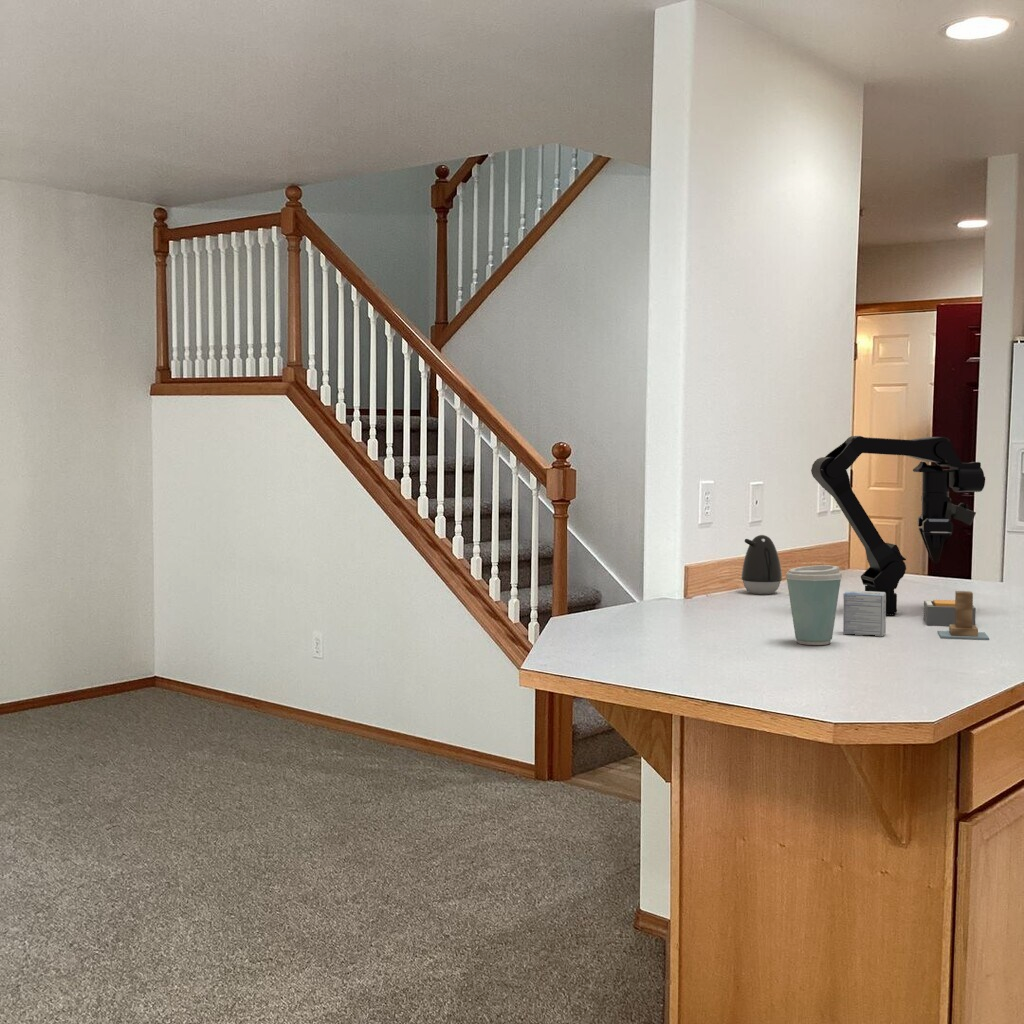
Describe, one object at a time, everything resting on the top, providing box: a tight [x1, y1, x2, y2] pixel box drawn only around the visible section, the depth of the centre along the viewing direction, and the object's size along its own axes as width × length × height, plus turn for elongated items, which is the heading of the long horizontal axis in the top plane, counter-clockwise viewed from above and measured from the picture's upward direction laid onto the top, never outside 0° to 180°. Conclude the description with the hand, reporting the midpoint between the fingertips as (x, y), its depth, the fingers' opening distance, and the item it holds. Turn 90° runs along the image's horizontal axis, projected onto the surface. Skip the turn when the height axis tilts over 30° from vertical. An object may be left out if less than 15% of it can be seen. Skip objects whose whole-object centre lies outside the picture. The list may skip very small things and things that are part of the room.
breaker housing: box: [923, 600, 977, 627], centre depth 252 cm, size 10×10×4 cm
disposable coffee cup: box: [785, 564, 843, 646], centre depth 228 cm, size 11×11×15 cm
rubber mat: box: [937, 630, 990, 641], centre depth 235 cm, size 9×7×1 cm
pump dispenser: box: [741, 534, 783, 596], centre depth 302 cm, size 10×10×15 cm
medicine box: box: [842, 590, 887, 637], centre depth 238 cm, size 8×4×9 cm, turn 65°
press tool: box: [948, 590, 979, 637], centre depth 235 cm, size 5×5×8 cm
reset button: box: [932, 599, 955, 607], centre depth 252 cm, size 6×6×3 cm
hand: (934, 560), depth 266 cm, fingers open, 9 cm apart
